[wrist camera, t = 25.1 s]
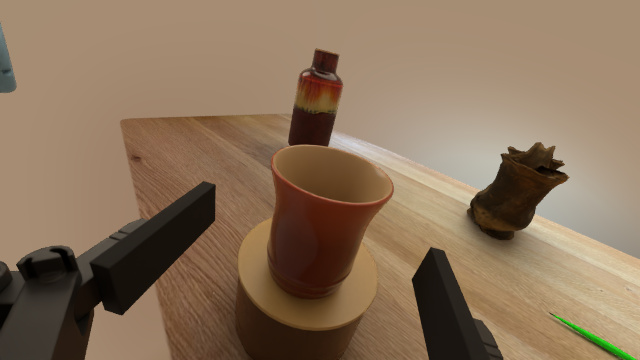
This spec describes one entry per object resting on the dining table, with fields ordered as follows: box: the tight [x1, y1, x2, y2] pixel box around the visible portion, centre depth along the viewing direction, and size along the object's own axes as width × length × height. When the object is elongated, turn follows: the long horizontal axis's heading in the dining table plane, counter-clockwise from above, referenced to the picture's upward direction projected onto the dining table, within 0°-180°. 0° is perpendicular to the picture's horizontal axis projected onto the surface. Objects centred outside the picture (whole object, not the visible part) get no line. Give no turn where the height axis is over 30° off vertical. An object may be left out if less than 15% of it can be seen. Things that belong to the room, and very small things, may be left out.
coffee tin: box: [235, 218, 378, 360], centre depth 25 cm, size 13×13×8 cm
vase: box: [288, 49, 343, 147], centre depth 60 cm, size 11×11×26 cm
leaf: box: [550, 313, 636, 360], centre depth 30 cm, size 1×14×1 cm, turn 52°
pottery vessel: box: [467, 142, 569, 240], centre depth 49 cm, size 25×11×20 cm, turn 136°
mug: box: [267, 145, 394, 300], centre depth 20 cm, size 12×9×10 cm
